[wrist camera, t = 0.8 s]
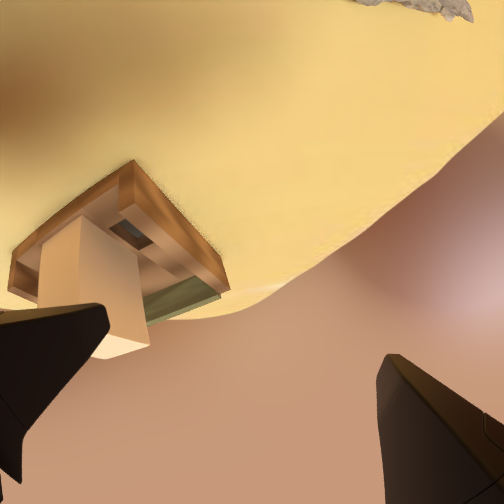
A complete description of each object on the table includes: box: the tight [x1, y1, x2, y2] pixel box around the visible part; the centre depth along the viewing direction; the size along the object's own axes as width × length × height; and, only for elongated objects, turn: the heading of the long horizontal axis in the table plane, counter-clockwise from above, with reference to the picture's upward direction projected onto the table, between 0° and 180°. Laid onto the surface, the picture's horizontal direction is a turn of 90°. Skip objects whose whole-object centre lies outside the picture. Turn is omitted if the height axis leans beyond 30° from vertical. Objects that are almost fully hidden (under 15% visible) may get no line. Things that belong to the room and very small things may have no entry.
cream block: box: [37, 215, 150, 359], centre depth 18 cm, size 7×5×8 cm
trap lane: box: [7, 160, 231, 327], centre depth 23 cm, size 16×15×4 cm
